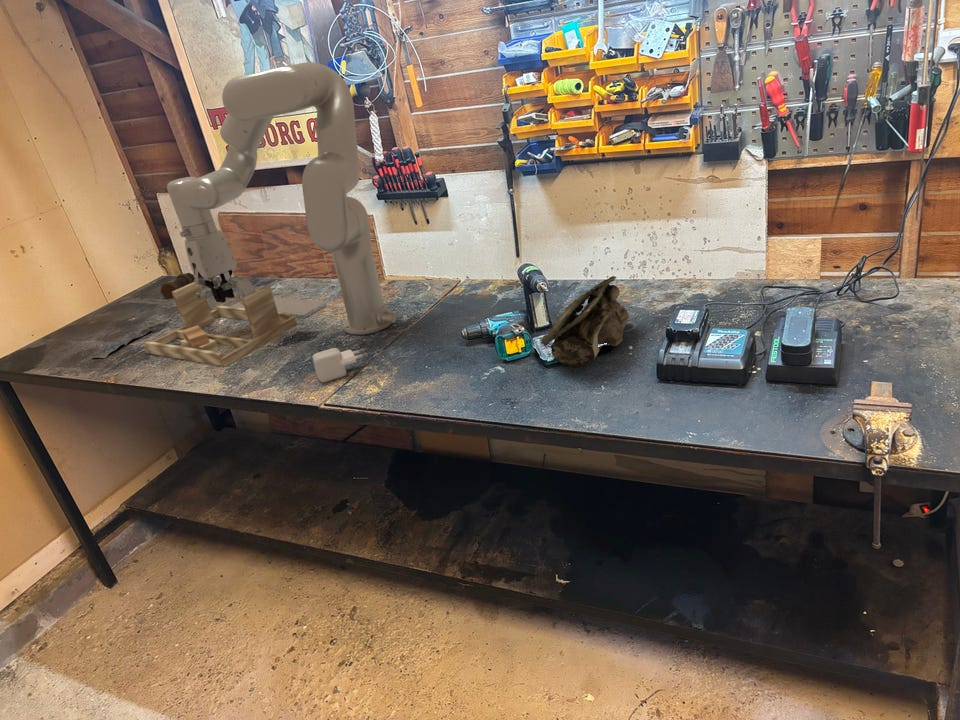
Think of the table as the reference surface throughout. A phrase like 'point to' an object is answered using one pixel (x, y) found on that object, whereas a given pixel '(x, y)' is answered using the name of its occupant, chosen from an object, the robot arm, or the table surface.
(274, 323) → the rack
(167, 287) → the brown lumpy piece
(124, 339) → the driftwood
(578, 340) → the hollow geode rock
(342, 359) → the power adapter
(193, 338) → the offcut top
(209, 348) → the offcut bottom
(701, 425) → the table surface
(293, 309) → the plate
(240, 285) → the bracket
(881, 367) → the table surface
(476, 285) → the table surface
